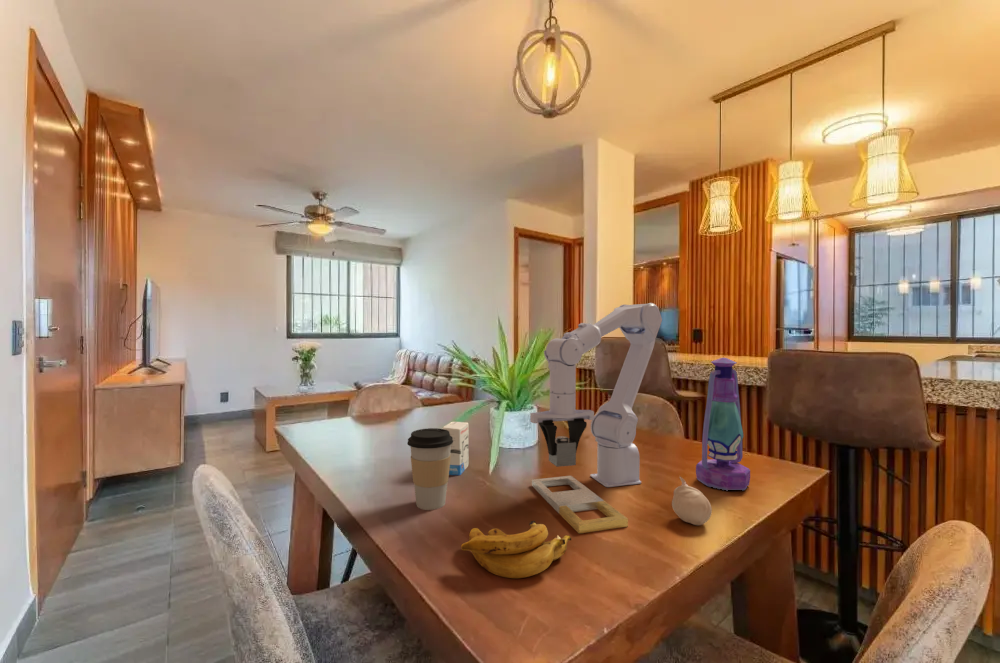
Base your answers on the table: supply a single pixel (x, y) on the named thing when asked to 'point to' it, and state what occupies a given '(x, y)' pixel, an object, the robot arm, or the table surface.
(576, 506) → the plate with square hole
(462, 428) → the ink box
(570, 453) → the grey knobbed block
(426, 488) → the coffee cup
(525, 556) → the banana
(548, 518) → the table surface
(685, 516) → the garlic bulb
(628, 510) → the table surface
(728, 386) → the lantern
